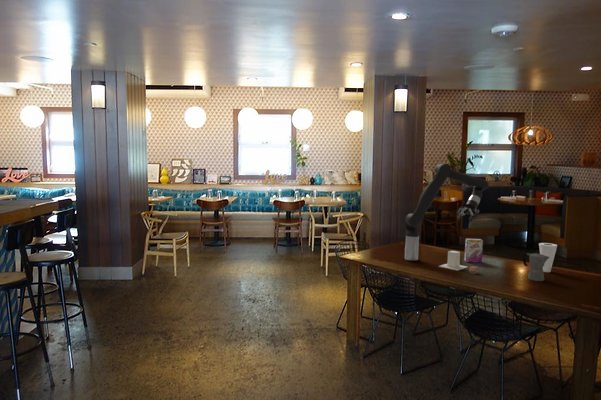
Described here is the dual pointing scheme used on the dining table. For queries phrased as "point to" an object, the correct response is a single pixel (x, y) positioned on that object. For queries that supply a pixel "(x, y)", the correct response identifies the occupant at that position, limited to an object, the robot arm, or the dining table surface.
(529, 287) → the dining table surface
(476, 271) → the terracotta block
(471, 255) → the candy bar box
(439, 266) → the mat
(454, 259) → the beige block
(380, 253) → the dining table surface
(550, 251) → the cup
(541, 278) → the coffeepot
